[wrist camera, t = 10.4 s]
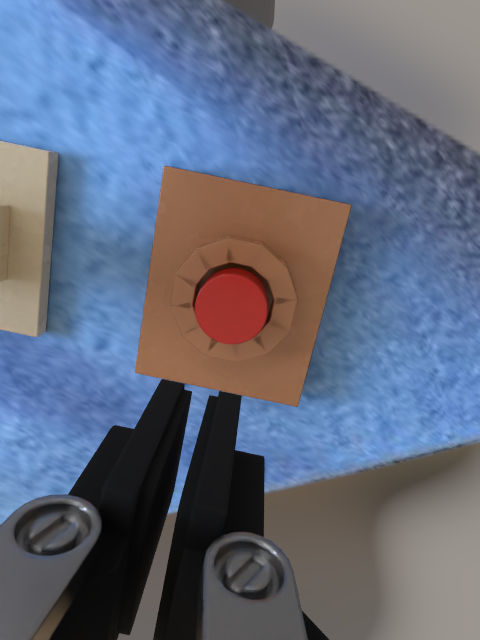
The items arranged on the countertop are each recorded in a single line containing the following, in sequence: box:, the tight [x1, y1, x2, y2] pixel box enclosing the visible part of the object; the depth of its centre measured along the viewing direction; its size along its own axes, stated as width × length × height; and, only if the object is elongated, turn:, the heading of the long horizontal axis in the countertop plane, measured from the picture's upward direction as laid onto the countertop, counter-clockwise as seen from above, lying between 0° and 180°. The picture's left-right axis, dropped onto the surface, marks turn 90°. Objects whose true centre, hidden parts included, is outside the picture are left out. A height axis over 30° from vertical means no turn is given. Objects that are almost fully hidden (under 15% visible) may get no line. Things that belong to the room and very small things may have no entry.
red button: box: [195, 268, 268, 344], centre depth 23 cm, size 4×4×2 cm
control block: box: [135, 166, 351, 407], centre depth 25 cm, size 12×10×4 cm
